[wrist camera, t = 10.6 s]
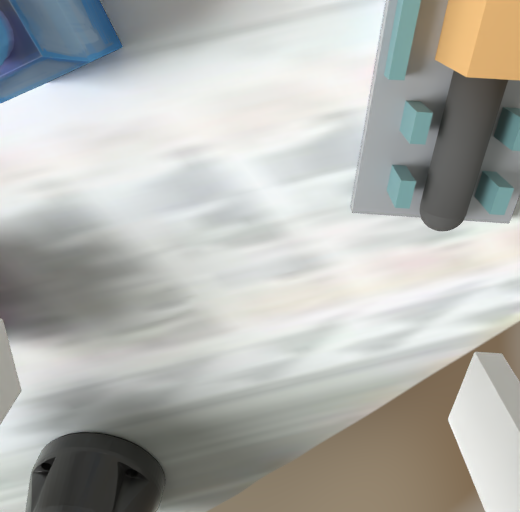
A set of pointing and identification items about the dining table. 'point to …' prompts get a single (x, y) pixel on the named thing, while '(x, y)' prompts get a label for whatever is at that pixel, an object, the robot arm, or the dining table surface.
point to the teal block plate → (425, 123)
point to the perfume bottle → (49, 41)
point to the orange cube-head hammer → (469, 101)
